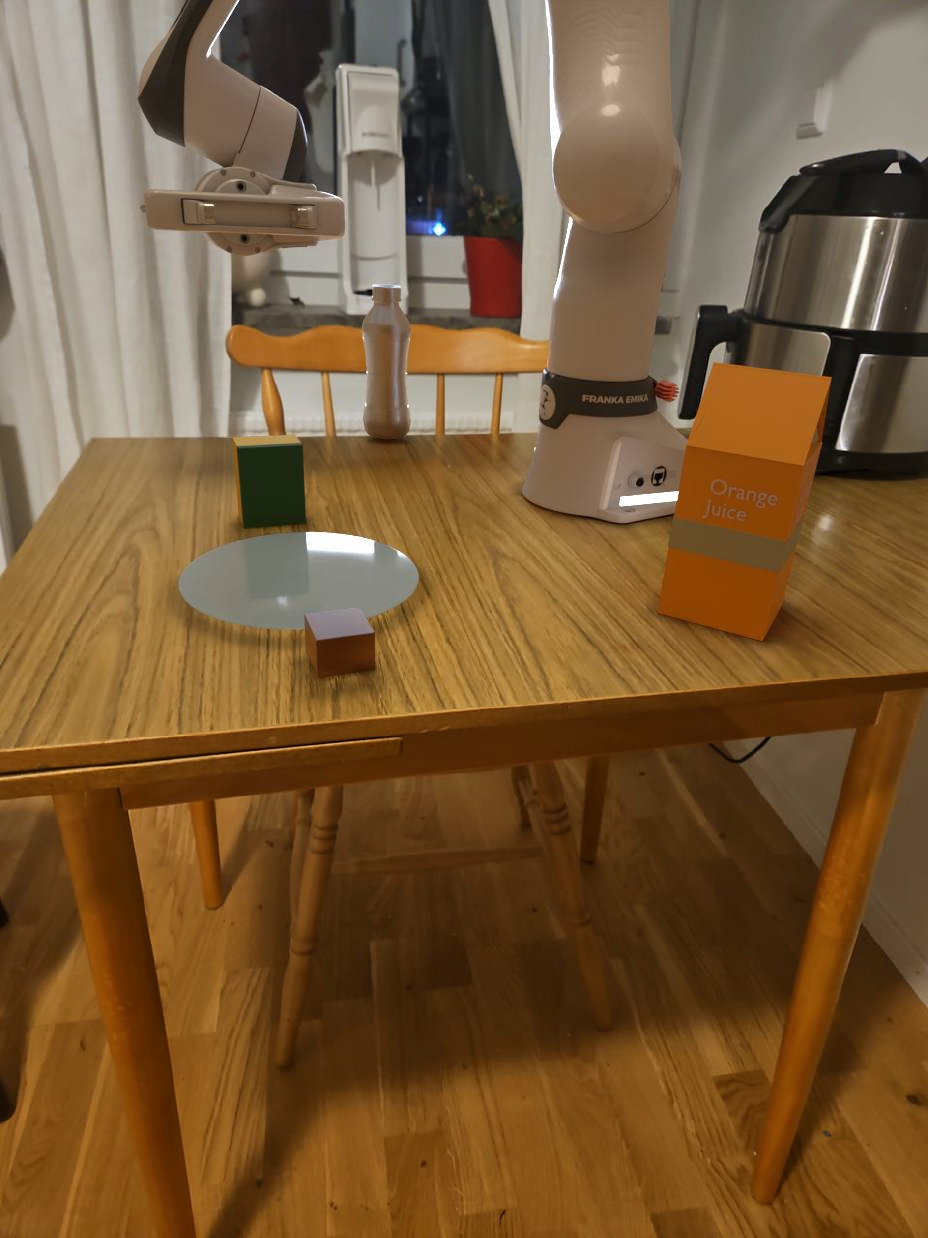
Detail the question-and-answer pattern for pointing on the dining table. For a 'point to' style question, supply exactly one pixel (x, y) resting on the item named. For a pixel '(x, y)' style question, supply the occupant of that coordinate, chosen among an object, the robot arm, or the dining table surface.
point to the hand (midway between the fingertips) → (257, 215)
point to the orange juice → (743, 497)
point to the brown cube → (339, 642)
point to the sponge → (269, 480)
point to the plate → (296, 579)
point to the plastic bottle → (386, 365)
